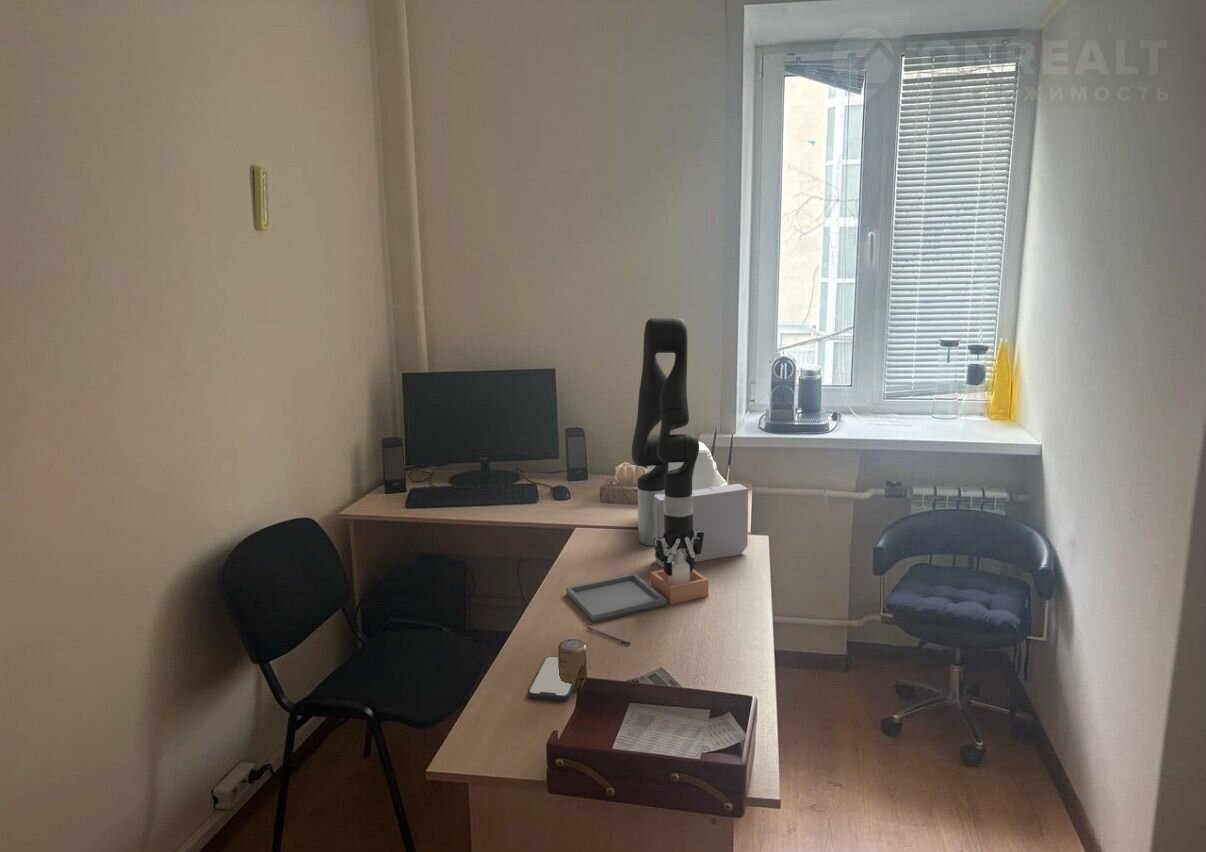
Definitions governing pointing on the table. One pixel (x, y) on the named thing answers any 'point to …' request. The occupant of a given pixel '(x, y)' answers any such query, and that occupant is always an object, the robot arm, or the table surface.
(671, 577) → the eye dropper bottle
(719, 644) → the table surface
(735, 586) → the table surface
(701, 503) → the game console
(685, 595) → the holder box
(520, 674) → the table surface
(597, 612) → the tray
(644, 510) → the robot arm
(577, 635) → the table surface
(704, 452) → the paper stack
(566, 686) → the phone case
